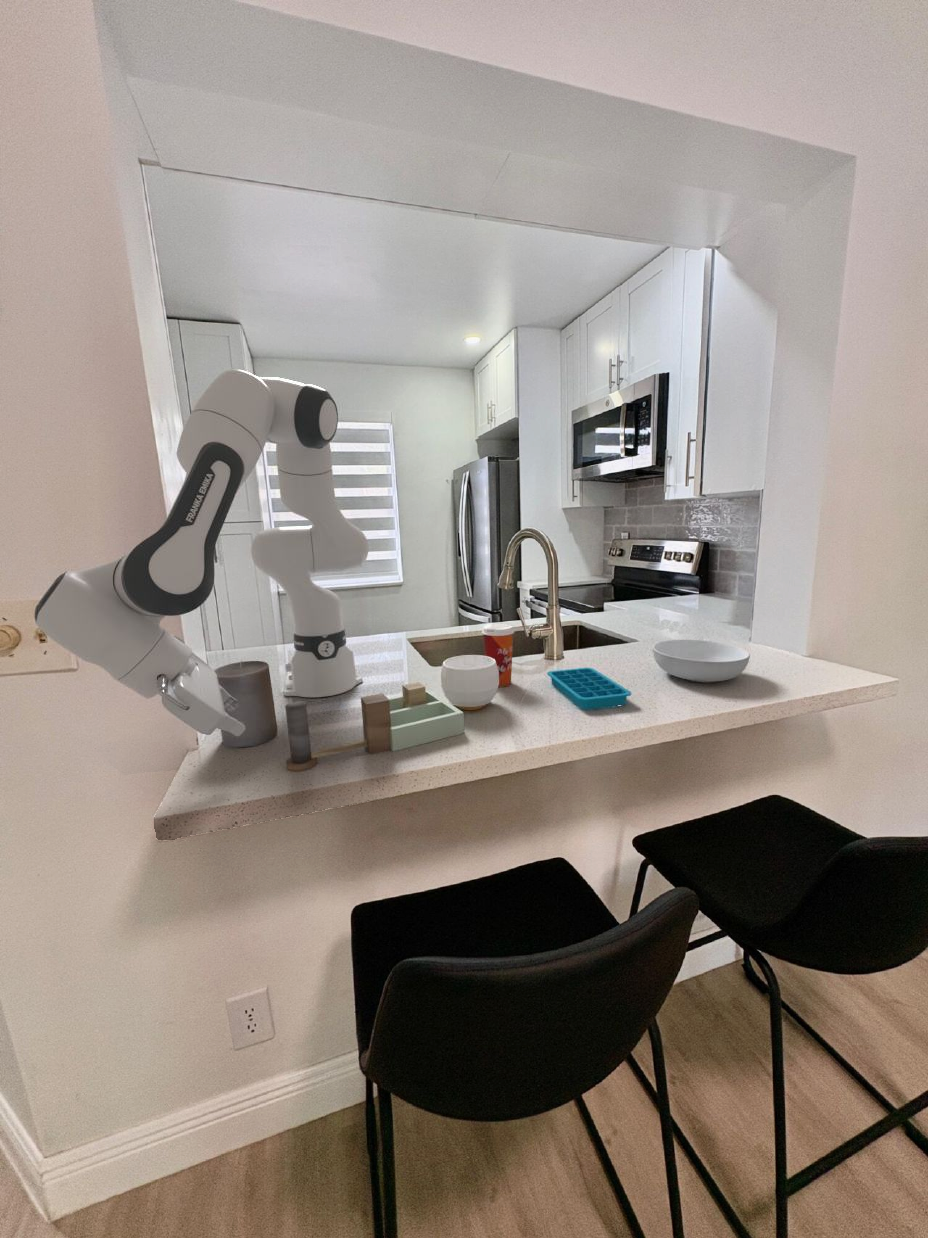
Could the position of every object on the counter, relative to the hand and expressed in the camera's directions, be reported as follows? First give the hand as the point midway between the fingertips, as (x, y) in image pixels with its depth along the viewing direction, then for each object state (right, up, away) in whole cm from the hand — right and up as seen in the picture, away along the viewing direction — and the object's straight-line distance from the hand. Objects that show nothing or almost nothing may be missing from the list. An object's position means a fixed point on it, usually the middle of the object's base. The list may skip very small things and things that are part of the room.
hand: (238, 718), depth 78 cm
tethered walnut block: (+14, -8, +7) cm, 18 cm away
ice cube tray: (+63, -2, +33) cm, 71 cm away
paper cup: (+44, 0, +42) cm, 61 cm away
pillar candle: (-5, -7, +16) cm, 19 cm away
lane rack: (+25, -5, +18) cm, 31 cm away
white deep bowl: (+37, -3, +29) cm, 47 cm away
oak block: (+25, -5, +22) cm, 34 cm away
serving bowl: (+92, +1, +42) cm, 101 cm away
